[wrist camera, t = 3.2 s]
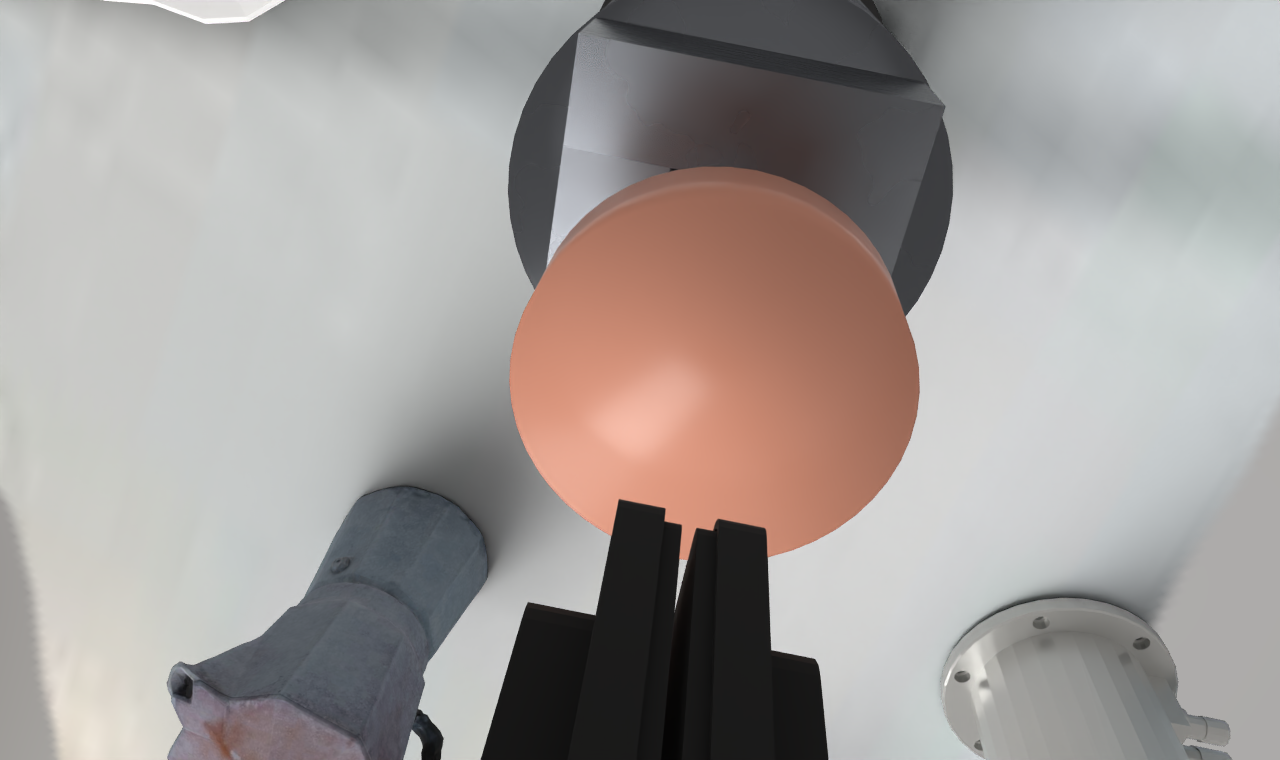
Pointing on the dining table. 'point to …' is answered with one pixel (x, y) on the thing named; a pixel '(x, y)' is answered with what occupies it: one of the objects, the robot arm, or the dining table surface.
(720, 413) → the pink rounded piece
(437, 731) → the moka pot
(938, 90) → the dining table surface
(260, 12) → the plate
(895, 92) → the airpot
